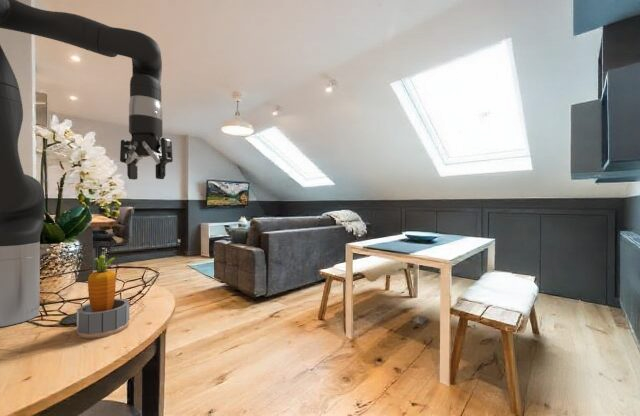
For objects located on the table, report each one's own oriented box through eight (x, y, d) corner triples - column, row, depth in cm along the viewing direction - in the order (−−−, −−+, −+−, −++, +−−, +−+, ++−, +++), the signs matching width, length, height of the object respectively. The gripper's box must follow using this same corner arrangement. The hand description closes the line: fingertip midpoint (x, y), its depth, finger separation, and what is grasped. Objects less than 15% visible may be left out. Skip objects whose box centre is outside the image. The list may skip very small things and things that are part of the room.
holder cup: (68, 341, 54) (68, 315, 54) (89, 323, 62) (89, 300, 62) (120, 335, 57) (120, 311, 57) (133, 318, 65) (134, 297, 65)
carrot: (95, 319, 61) (94, 252, 61) (121, 317, 63) (120, 251, 62) (82, 330, 57) (80, 257, 56) (110, 328, 58) (109, 256, 57)
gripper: (179, 120, 76) (179, 180, 76) (135, 122, 79) (136, 180, 79) (157, 111, 68) (157, 177, 69) (110, 114, 71) (110, 178, 72)
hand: (146, 179), depth 74 cm, fingers open, 8 cm apart
